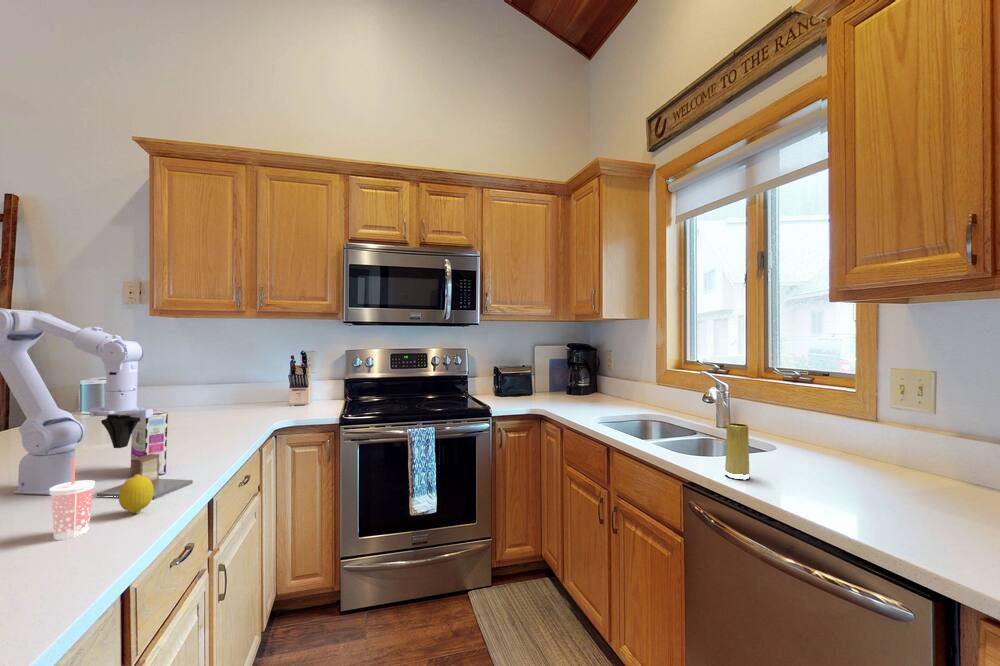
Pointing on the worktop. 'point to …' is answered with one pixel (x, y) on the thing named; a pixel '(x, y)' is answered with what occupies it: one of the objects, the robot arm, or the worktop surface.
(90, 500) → the beverage cup
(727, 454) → the vase
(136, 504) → the lemon
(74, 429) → the robot arm
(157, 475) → the walnut slab
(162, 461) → the candy bar box
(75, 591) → the worktop surface
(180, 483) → the grey flat rectangular plate
